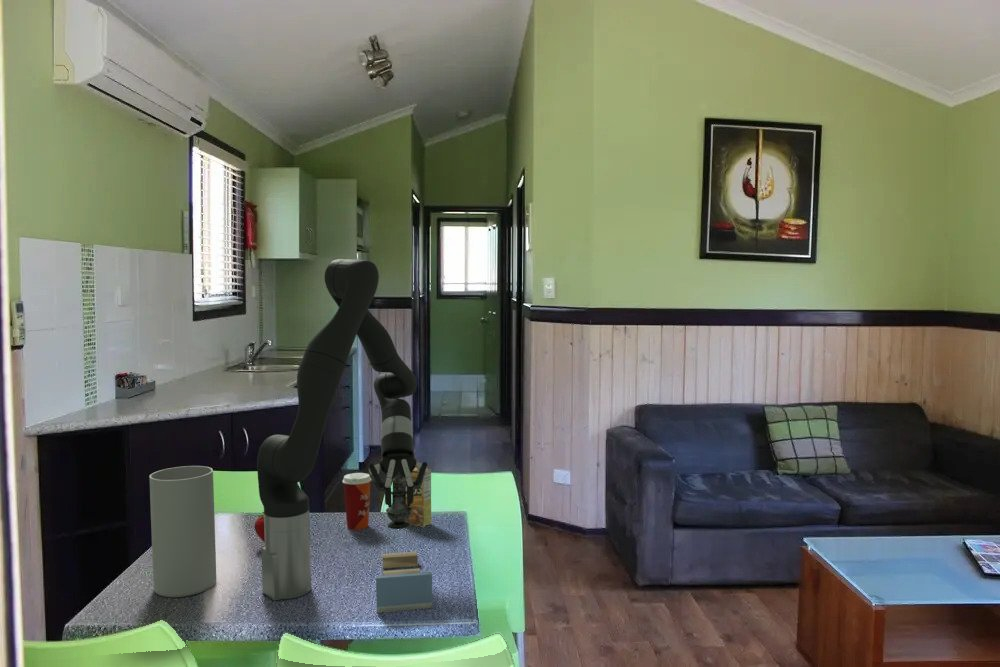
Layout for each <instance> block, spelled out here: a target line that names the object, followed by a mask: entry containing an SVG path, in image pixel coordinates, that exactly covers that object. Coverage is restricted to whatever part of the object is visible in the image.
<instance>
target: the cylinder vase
mask: <svg viewBox="0 0 1000 667" xmlns="http://www.w3.org/2000/svg"><path fill="white" fill-rule="evenodd" d="M214 489H215V488H214V469H213V468H212V467H209V466H204V465H187V466H186V465H185V466H175V467H170V468H164V469H161V470H158V471H155V472H153V473H151V474H149V498H150V499H149V500H150V504H149V505H150V523H151V524H150V527H151V550H152V555H151V556H152V578H153V579H152V580H153V582H152V583H153V591H154V592H155V593H156V594H157V595H158V596H160V597H164V598H183V597H190V596H194V595H197V594H200V593H203V592H206V591H207V590H209V589H210V588H212V587H213V586H214V585H215V584H216V582H217V556H216V554H217V552H216V551H217V550H216V526H215V525H216V523H215V522H216V521H215V519H216V518H215V517H216V516H215V493H214V492H215V491H214Z"/></svg>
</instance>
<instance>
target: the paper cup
mask: <svg viewBox="0 0 1000 667" xmlns="http://www.w3.org/2000/svg"><path fill="white" fill-rule="evenodd" d="M341 481H342V483H343V493H344V504H345V513H346V515H345V516H346V526H347V529H348V530H350V531H361V530H365V529H367V528H368V527H369V521H370V520H369V518H370V498H371V497H370V495H371V493H370V492H371V482H372V478H371V476H370V474H369V473H364V472H352V473H347V474H345V475H344V476H343V479H342V480H341Z"/></svg>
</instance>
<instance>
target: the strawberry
mask: <svg viewBox="0 0 1000 667" xmlns="http://www.w3.org/2000/svg"><path fill="white" fill-rule="evenodd" d="M261 513H262V514H261V515H258V516H257V517H258V518H257V519H256V520H255V522H254V530H255V534H256V535H257V537H259V538H260V539H261V540H262V542H264V543H265V530H264V511H261Z"/></svg>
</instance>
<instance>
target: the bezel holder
mask: <svg viewBox="0 0 1000 667" xmlns="http://www.w3.org/2000/svg"><path fill="white" fill-rule="evenodd" d="M375 587H376V590H375V591H376V593H375V594H376V614H381V613H382V612H384V613H394V612H395V611H396V612H405V610H408V611H415V609H419V610H426V609H427V610H429V609H428V608H431V609H433V573H432V571H423V572H421V573H411V574H398V575H383V574H382V575H375ZM382 614H383V613H382Z"/></svg>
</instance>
